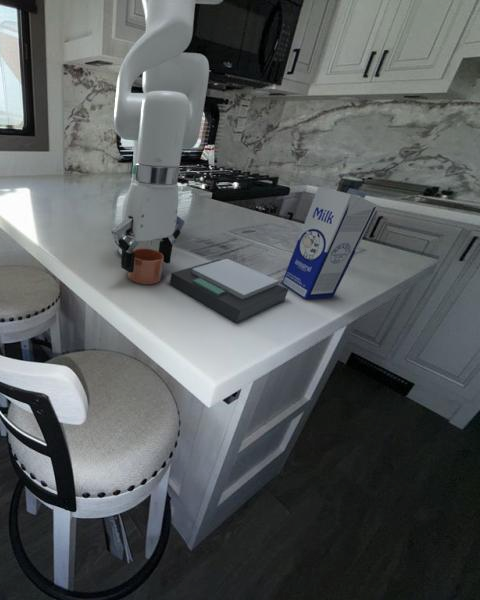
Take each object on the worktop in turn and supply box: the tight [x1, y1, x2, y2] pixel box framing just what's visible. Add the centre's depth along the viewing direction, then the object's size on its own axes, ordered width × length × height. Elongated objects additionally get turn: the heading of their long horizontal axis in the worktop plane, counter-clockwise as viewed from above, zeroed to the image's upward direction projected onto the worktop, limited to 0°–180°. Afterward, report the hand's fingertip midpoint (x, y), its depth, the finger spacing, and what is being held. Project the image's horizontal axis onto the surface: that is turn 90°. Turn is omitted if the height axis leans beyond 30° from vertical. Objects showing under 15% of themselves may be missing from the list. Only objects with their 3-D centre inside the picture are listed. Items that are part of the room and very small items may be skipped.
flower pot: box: [127, 248, 164, 285], centre depth 63 cm, size 7×7×5 cm
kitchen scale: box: [169, 258, 290, 324], centre depth 59 cm, size 16×15×4 cm
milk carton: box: [281, 185, 379, 300], centre depth 58 cm, size 7×7×20 cm
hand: (146, 265), depth 62 cm, fingers open, 9 cm apart
